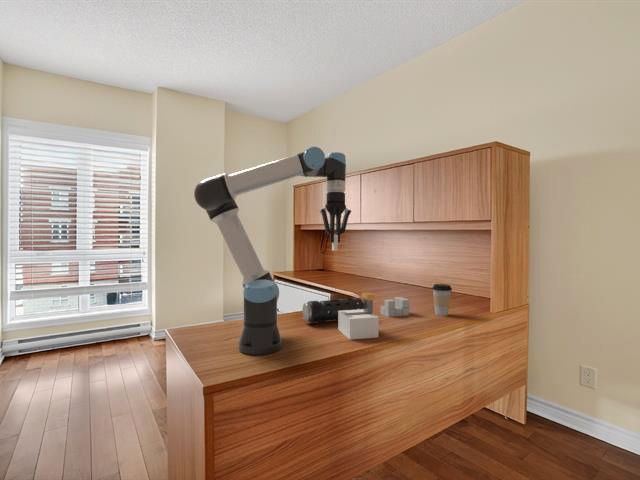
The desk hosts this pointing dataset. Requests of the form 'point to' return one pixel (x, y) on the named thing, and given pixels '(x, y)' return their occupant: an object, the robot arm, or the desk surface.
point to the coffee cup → (441, 298)
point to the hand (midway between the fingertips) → (334, 250)
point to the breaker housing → (358, 324)
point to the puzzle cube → (395, 307)
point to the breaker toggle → (368, 302)
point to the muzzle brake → (328, 309)
